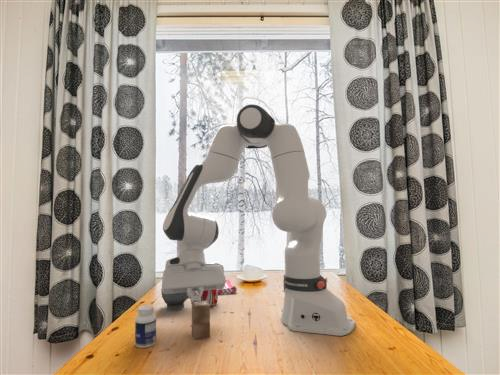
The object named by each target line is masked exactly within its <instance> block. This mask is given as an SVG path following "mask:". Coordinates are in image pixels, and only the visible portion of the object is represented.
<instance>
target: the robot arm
mask: <svg viewBox="0 0 500 375" xmlns="http://www.w3.org/2000/svg"><path fill="white" fill-rule="evenodd" d="M235 122H236V125H231V124H228V125H227V124H226V125H225V124H224V125H221V126H220V127H219V128H218V129H217V131H216V133H215V135H214V137H213V138H212V139H213V140H212V142H211V143H210V146H209V149H208V152H207V155H206V157H205V159H204V160H203V161H202V162H201V163H199V164H196V165H195V166H193V168H192V169H191V171H190V172H189V174H188V176H187V178H186V179H185V182H184V184H183V186H182V187H181V189H180V191H179V193H178V196H177V197H176V199H175V202H174V203H173V205H172V207H171V209H170V210H169V211H168V213H167V215H166V216H165V218H164V221H163V224H162V230H163V232H164V234H165V236H166V237H167V238H168V239H169V240H170V241H176V242H177V243H176V244H177V251H178V256H176V257H173V258H169V259H167V260H165V261H166V262H165V266H164V269H163V270H164V271H163V272H162V279H161V280H162V281H161V289H162V292H163V293H164V294H173V293H184V292H187V296H188V297H189V298H188V299H190V304H191V305H192V302H198V301H201V296H202V294H203V291H206V290H217V289H223V288H224V287H225V284H226V280H227V279H226V275H225V269H224V265H223V264H222V263H219V262H207V263H206V258H205V252H204V251H205V250H206V249H208V248H210V247H211V246H212V245H213V244H214V243H215V242H216V241H217V240H218V238H219V234H220V233H219V224H218V223H217V222H218V221H217V220H216V219H215V218H213V217H210V216H207V215H203V214H197V213H194V212H190V211H189V208H190V206H191V203H192V202H193V200H194V198H195V195H196V194H197V192H198V190H199V189H200V188H201V187H203V186H204V185H208V184H217V183H219V184H220V183H223V182H227V181H228V180H231V179H232V178H233V177H234V176H235V174H236V172H237V170H238V167H239V163H240V160H241V157H242V153H243V152H244V149H245V148H246V149H264V148H267V147H268V150H269V153H270V158H271V163H272V167H273V174H274V178H275V184H276V187H275V188H276V189H275V190H276V192H275V193H276V194H275V197H276V198H275V204H274V206H273V209H272V212H271V213H272V214H271V217H272V218H271V219H272V221H273V223H274V225H275V227H276V228H277V229H279V230H281V231H282V232H286V233H289V238H288V242H287V244H286V246H285V248H284V275H283V292H284V298H283V307H282V313H281V316H280V321H281V323H282V324H283V325H285V326H287V327H288V329H289V330H290V331H293V332H300V333H301V332H303V333H312V334H319V335H320V334H322V335H328V336H338V337H343V336H345V335H348V334H350V333H351V332H353V330H354V329H355V326H356V323H355V319H354V318H353V317H351V316H348V314H347V308H346V304H345V303H344V302H343V300H342V299H340V298H339V297H338V296H337V295H335V294H334V293H333V292H332V291H330V290H329V289H328V288H327V282H328V277H326V278H325V277H323V276H322V275H321V260H320V259H321V258H320V257H321V244H322V236H323V230H324V229H323V228H324V222H325V220H326V217H327V209H326V207H325V204H323V203H322V202H321V201H320V200H318V199H316V198H315V197H311V196H310V195H309V180H310V177H311V176H310V170H309V166H308V162H307V161H308V160H307V156H306V154H305V149H304V145H303V142H302V139H301V137H300V134H299V132H298V130H297V128H296V127H295V125H293V124H291V123H280V124H279V123H278V124H277V123H276V122H275V119H274V118H273V117H272V115H270V113H268V111H267V110H266V109H264V108H263V107H262V106H260V105H258V104H247V105H245V106H244V107H242V108H240V110H239V112H238V113H237V115H236V121H235ZM195 291H198V293H199V296H193V295H192V294H191V292H195Z"/></svg>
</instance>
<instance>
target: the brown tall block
mask: <svg viewBox="0 0 500 375" xmlns="http://www.w3.org/2000/svg"><path fill="white" fill-rule="evenodd" d="M210 307H211V306H210V305H209V303H208V301H198V302H192V304H191V336H192V339H193V341H197V340H203V339H210V338H211V308H210Z"/></svg>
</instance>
